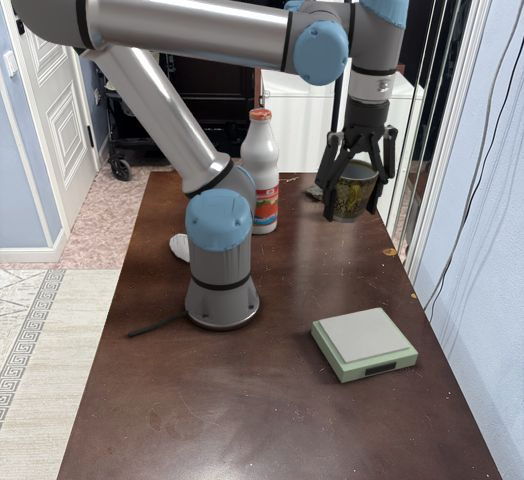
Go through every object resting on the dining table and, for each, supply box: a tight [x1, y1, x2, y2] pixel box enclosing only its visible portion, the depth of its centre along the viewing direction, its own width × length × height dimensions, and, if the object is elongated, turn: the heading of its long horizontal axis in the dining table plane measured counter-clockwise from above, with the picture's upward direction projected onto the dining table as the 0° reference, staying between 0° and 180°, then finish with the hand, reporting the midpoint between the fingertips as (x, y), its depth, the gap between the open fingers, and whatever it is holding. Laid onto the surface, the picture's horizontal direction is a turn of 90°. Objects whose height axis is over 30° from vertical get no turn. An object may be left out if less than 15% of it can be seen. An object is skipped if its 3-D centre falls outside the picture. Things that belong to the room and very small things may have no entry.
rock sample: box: [305, 184, 323, 201], centre depth 139 cm, size 10×8×9 cm
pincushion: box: [169, 230, 190, 263], centre depth 116 cm, size 12×6×6 cm, turn 19°
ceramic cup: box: [333, 158, 379, 224], centre depth 98 cm, size 13×10×10 cm
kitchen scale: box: [310, 307, 419, 384], centre depth 93 cm, size 15×14×4 cm
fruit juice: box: [240, 107, 280, 235], centre depth 118 cm, size 9×9×28 cm
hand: (349, 215), depth 101 cm, fingers closed on ceramic cup, 9 cm apart
